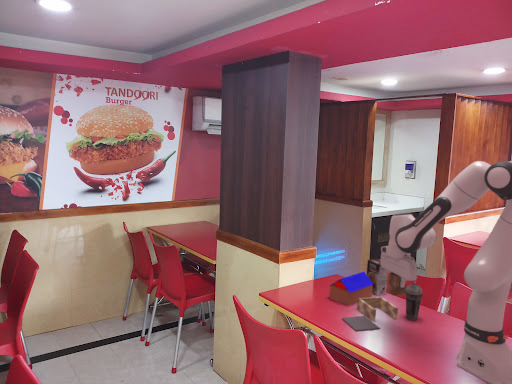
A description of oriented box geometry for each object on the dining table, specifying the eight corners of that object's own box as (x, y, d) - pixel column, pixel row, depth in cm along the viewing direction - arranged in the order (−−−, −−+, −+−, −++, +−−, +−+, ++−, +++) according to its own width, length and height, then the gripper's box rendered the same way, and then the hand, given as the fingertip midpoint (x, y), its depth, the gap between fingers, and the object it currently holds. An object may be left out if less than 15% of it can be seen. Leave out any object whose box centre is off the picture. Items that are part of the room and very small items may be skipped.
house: (372, 297, 208) (374, 274, 206) (348, 306, 194) (350, 282, 193) (352, 290, 217) (354, 268, 215) (328, 298, 203) (330, 275, 202)
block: (405, 294, 172) (406, 275, 171) (394, 295, 170) (396, 276, 169) (397, 290, 176) (399, 272, 176) (387, 291, 175) (388, 272, 174)
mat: (379, 329, 171) (379, 327, 171) (356, 331, 168) (356, 330, 168) (364, 317, 183) (364, 315, 183) (341, 319, 180) (342, 317, 180)
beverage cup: (401, 319, 182) (405, 275, 180) (404, 313, 189) (408, 270, 186) (419, 323, 179) (423, 278, 177) (421, 317, 185) (425, 273, 183)
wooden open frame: (397, 318, 182) (398, 308, 182) (373, 321, 179) (373, 310, 178) (379, 306, 195) (380, 296, 195) (357, 308, 192) (357, 298, 191)
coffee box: (364, 289, 218) (367, 259, 216) (374, 288, 220) (376, 258, 218) (376, 295, 209) (379, 264, 207) (386, 294, 212) (389, 263, 210)
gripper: (422, 258, 163) (419, 292, 164) (391, 245, 182) (389, 276, 184) (408, 258, 161) (406, 293, 162) (378, 246, 180) (376, 277, 182)
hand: (396, 284), depth 173 cm, fingers closed on block, 5 cm apart
